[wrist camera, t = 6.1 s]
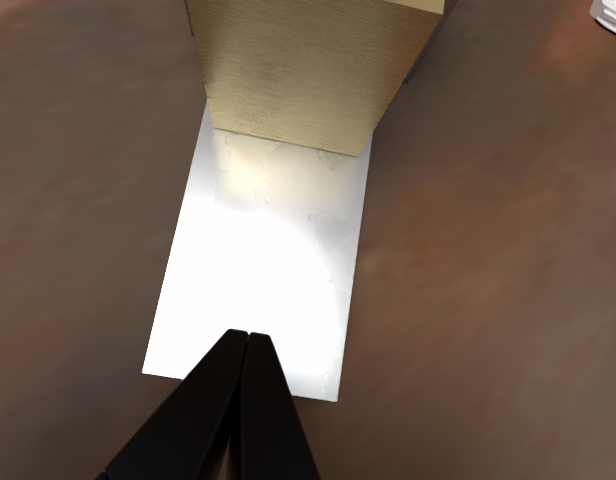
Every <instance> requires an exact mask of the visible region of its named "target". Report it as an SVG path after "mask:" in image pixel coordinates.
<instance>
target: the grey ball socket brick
mask: <svg viewBox="0 0 616 480" xmlns="http://www.w3.org/2000/svg"><path fill="white" fill-rule="evenodd" d="M184 1H185V5H186V10H187V15H188V19H189V24H190V29H191V33H192V35H194V33H193V28H192V23H191V18H190V14H189V9H188V4H187V0H184ZM458 1H459V0H444V10H443V16H442V17H441V19H440V21H439V22H438V24H437V26H436V27H435V29H434V31H433V32H432V34H431V36H430V37H429V39H428V41H427V42H426V44H425V46H424V47H423V49H422V51H421V52H420V54H419V56H418V57H417V59H416V61H415V62H414V64H413V66H412V67H411V69H410V71H409V72H408V74H407V76H406V77H405V79H404V81H403V82H407V83H408V81H409V80H410V78H411V76H412V75H413V73H414V72H415V70H416V68H417V67H418V65H419V64H420V62H421V60H422V59H423V57H424V55H425V54H426V52H427V51H428V49H429V47H430V46H431V44H432V43H433V41H434V39H435V38H436V36H437V35H438V33H439V31H440V30H441V28H442V26H443V25H444V23H445V22H446V20H447V18H448V17H449V15H450V14H451V12H452V10H453V9H454V7H455V6H456V4H457V2H458ZM372 135H373V132H372V134H371V136H370V137H369V139H368V141H367V142H366V144H365V146H364V147H363V149H362V151H361V152H360V154H359V156H358V157H356V156H351V155H346V154H342V153H337V152H332V151H327V150H322V149H317V148H312V147H307V146H302V145H297V144H292V143H287V142H282V141H278V140H273V139H268V138H263V137H258V136H253V135H248V134H243V133H238V132H233V131H228V130H223V129H218V128H214V127H213V123H212V119H211V114H210V109H209V104H208V100H207V103H206V107H205V111H204V115H203V119H202V124H201V128H200V132H199V136H198V140H197V145H196V149H195V153H194V157H193V161H192V166H191V170H190V174H189V178H188V182H187V187H186V191H185V195H184V199H183V203H182V207H181V212H180V216H179V220H178V224H177V228H176V233H175V237H174V241H173V245H172V249H171V254H170V258H169V262H168V266H167V270H166V275H165V279H164V283H163V287H162V291H161V296H160V300H159V304H158V308H157V312H156V317H155V321H154V325H153V329H152V333H151V338H150V342H149V346H148V350H147V354H146V358H145V363H144V367H143V371H142V373H147V374H154V375H160V376H167V377H174V378H180V379H184V378H185V377H186V375H187V374H188V373H189V372H190V371H191V370H192V369H193V367H194V366H195V365H196V364H197V363H198V362H199V361H200V360H201V358H202V357H203V356H204V355H205V354H206V353H207V352H208V350H209V349H210V348H211V347H212V346H213V345H214V344H215V343H216V341H217V340H218V339H219V338H220V337H221V336H222V335H223V333H224V332H225V331H226V330H227V329H229V328H234V329H240V330H246V331H248V333H249V334H250V332H259V333H265V334H269V335H270V336H271V338H272V341H273V343H274V346H275V349H276V352H277V355H278V358H279V361H280V363H281V366H282V369H283V372H284V375H285V378H286V381H287V383H288V386H289V389H290V392H291V395H295V396H301V397H308V398H315V399H321V400H328V401H335V402H337V397H338V389H339V382H340V374H341V367H342V359H343V352H344V344H345V337H346V329H347V322H348V314H349V307H350V300H351V292H352V285H353V277H354V270H355V262H356V255H357V247H358V240H359V232H360V225H361V217H362V210H363V202H364V195H365V187H366V180H367V172H368V165H369V157H370V150H371V142H372ZM248 337H249V336H248Z"/></svg>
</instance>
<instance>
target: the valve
mask: <svg viewBox="0 0 616 480" xmlns="http://www.w3.org/2000/svg"><path fill="white" fill-rule="evenodd" d="M187 4H188V9H189V14H190V18H191V23H192V28H193V33H194V37H195V42H196V47H197V52H198V57H199V61H200V66H201V71H202V76H203V80H204V85H205V90H206V95H207V100H208V104H209V109H210V114H211V119H212V123H213V127H214V128H218V129H223V130H228V131H233V132H238V133H243V134H248V135H253V136H258V137H263V138H268V139H273V140H278V141H282V142H287V143H292V144H297V145H302V146H307V147H312V148H317V149H322V150H327V151H332V152H337V153H342V154H346V155H351V156H356V157H358V156H359V154H360V152H361V151H362V149H363V147H364V146H365V144H366V142H367V141H368V139H369V137H370V136H371V134H372V132H373V131H374V129H375V127H376V126H377V124H378V122H379V121H380V119H381V117H382V116H383V114H384V112H385V111H386V109H387V107H388V106H389V104H390V102H391V101H392V99H393V97H394V96H395V94H396V92H397V91H398V89H399V87H400V86H401V84H402V82H403V81H404V79H405V77H406V76H407V74H408V72H409V71H410V69H411V67H412V66H413V64H414V62H415V61H416V59H417V57H418V56H419V54H420V52H421V51H422V49H423V47H424V46H425V44H426V42H427V41H428V39H429V37H430V36H431V34H432V32H433V31H434V29H435V27H436V26H437V24H438V22H439V21H440V19H441V17H442V16H443V10H444V0H187Z"/></svg>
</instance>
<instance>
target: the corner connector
mask: <svg viewBox="0 0 616 480" xmlns="http://www.w3.org/2000/svg"><path fill="white" fill-rule="evenodd" d="M590 15H591V16H592V17H594V18H595V19H596V20H597V21H599V22H600V23H601V24H602V25H603V26H604V27H606V28H608V29H609V30H611V31H613V32H615V33H616V0H594V1H593V3H592V6H591V8H590Z"/></svg>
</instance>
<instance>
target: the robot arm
mask: <svg viewBox="0 0 616 480" xmlns="http://www.w3.org/2000/svg"><path fill="white" fill-rule="evenodd" d="M248 336H249V337H248ZM231 428H232V429H231ZM230 433H231V435H230ZM229 438H230V441H229ZM228 442H229V449H228V460H227V474H226V480H321V477H320V475H319V472H318V469H317V466H316V463H315V460H314V457H313V455H312V452H311V449H310V446H309V443H308V440H307V438H306V435H305V432H304V429H303V426H302V423H301V420H300V418H299V415H298V412H297V409H296V406H295V403H294V400H293V398H292V395H291V392H290V389H289V386H288V383H287V381H286V378H285V375H284V372H283V369H282V366H281V363H280V361H279V358H278V355H277V352H276V349H275V346H274V343H273V341H272V338H271V336H270V335H269V334H265V333H259V332H250V334H249V333H248V331H246V330H240V329H234V328H229V329H227V330H226V331H225V332H224V333H223V335H222V336H221V337H220V338H219V339H218V340H217V341H216V343H215V344H214V345H213V346H212V347H211V348H210V349H209V350H208V352H207V353H206V354H205V355H204V356H203V357H202V358H201V360H200V361H199V362H198V363H197V364H196V365H195V366H194V367H193V369H192V370H191V371H190V372H189V373H188V374H187V375H186V377H185V378H184V379H183V380H182V381H181V382H180V383H179V384H178V386H177V387H176V388H175V389H174V390H173V391H172V392H171V394H170V395H169V396H168V397H167V398H166V399H165V400H164V401H163V403H162V404H161V405H160V406H159V407H158V408H157V409H156V410H155V412H154V413H153V414H152V415H151V416H150V417H149V418H148V420H147V421H146V422H145V423H144V424H143V425H142V426H141V427H140V429H139V430H138V431H137V432H136V433H135V434H134V435H133V437H132V438H131V439H130V440H129V441H128V442H127V443H126V444H125V446H124V447H123V448H122V449H121V450H120V451H119V452H118V454H117V455H116V456H115V457H114V458H113V459H112V460H111V461H110V463H109V464H108V465H107V466H106V467H105V472H101V473H100V474H99V475H98V476H97V477H96V478H95V479H94V480H217V479H218V476H219V473H220V470H221V466H222V463H223V460H224V457H225V453H226V450H227V446H228Z"/></svg>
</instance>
